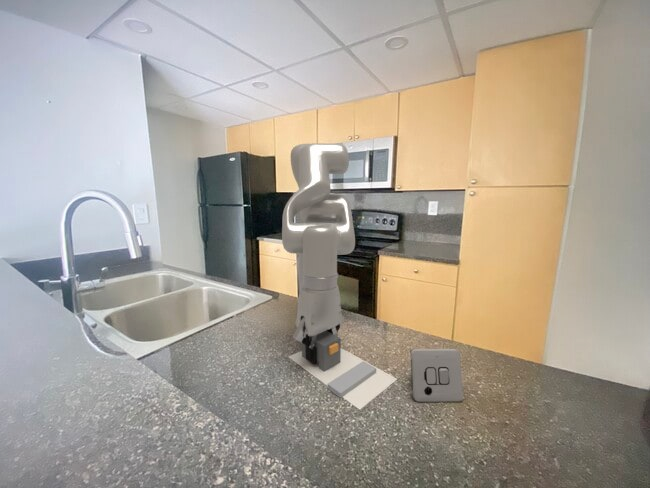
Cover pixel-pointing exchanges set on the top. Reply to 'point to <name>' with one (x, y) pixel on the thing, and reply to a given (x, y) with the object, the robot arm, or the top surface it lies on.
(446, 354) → the electrical switch
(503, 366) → the top surface
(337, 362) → the block
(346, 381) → the plate
